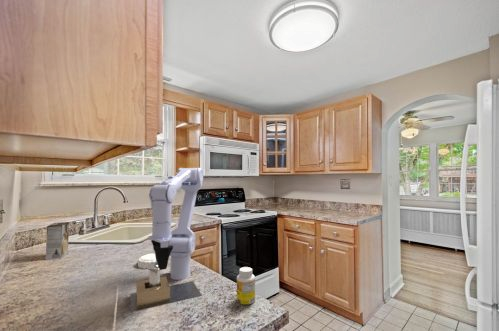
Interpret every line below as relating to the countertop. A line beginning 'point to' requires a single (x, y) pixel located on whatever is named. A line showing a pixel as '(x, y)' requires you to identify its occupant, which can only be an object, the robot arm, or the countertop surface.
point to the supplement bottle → (245, 286)
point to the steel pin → (154, 275)
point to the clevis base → (174, 295)
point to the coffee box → (57, 240)
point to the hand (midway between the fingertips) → (161, 265)
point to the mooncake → (146, 260)
